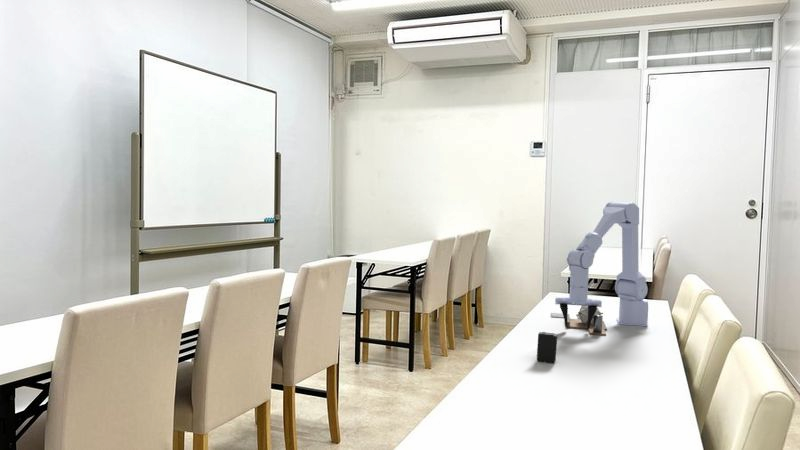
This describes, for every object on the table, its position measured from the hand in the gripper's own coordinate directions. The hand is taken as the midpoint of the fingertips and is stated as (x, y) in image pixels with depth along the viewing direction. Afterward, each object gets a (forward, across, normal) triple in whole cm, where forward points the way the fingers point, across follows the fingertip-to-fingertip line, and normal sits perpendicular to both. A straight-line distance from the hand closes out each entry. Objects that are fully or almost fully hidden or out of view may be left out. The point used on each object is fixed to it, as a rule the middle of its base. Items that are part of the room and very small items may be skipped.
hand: (577, 327), depth 199 cm
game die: (+2, +5, +11) cm, 12 cm away
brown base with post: (+2, +3, +7) cm, 8 cm away
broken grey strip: (+2, 0, +23) cm, 23 cm away
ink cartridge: (+2, -10, -36) cm, 37 cm away
